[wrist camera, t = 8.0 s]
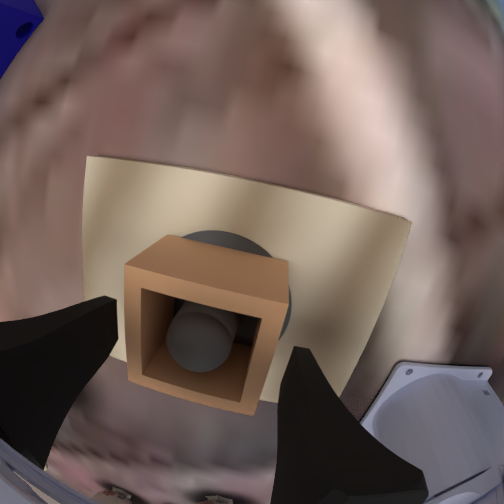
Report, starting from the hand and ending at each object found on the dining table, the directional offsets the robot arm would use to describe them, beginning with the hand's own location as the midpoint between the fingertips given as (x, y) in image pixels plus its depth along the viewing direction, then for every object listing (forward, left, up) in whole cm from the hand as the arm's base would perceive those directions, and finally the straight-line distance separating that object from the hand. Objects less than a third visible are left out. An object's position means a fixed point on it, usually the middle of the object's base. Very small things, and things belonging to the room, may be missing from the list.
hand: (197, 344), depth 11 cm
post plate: (0, 0, -4) cm, 4 cm away
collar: (0, 0, -3) cm, 3 cm away
